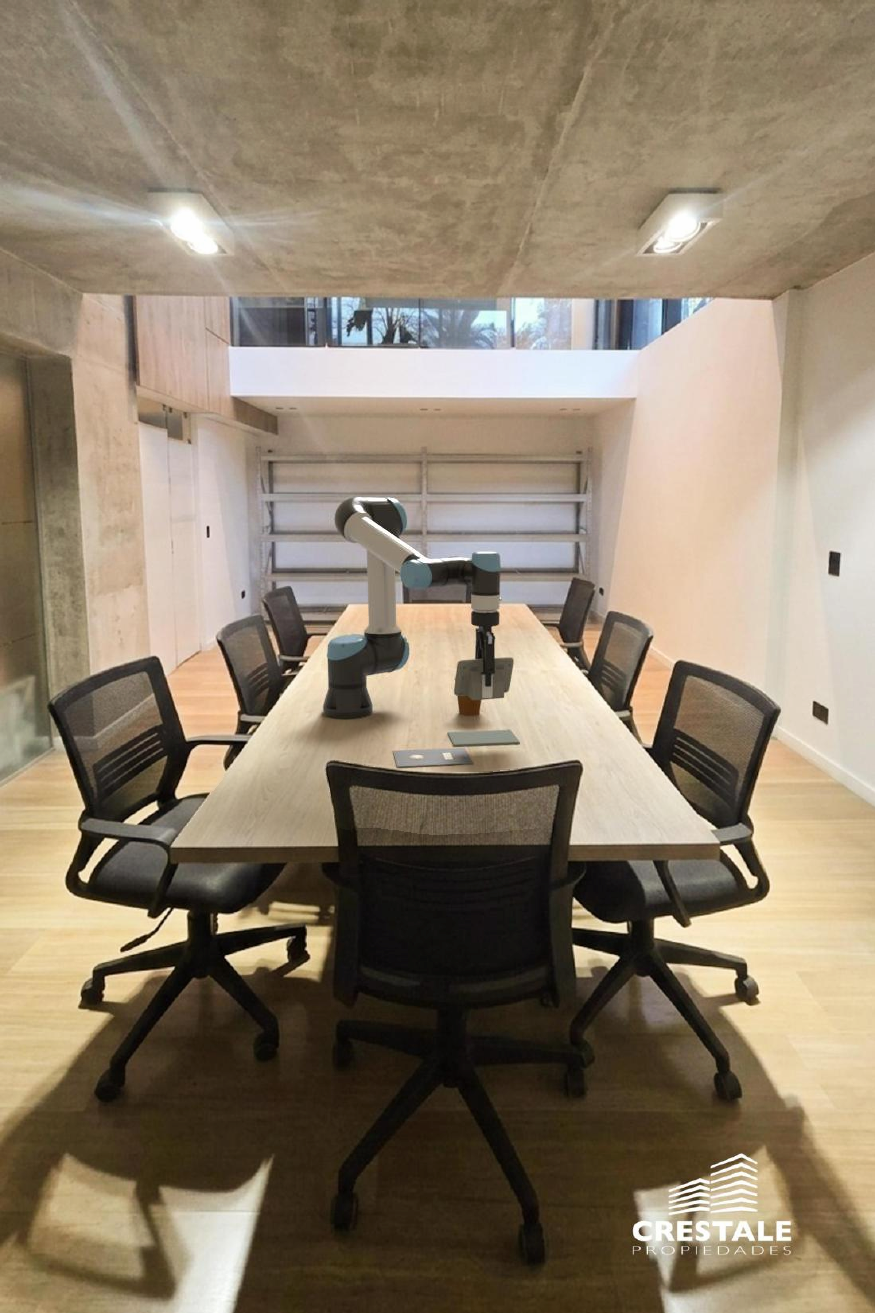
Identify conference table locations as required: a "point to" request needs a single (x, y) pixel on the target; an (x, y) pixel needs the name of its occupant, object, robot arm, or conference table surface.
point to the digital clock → (471, 678)
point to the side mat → (483, 738)
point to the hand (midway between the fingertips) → (484, 693)
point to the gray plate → (431, 757)
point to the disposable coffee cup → (468, 705)
